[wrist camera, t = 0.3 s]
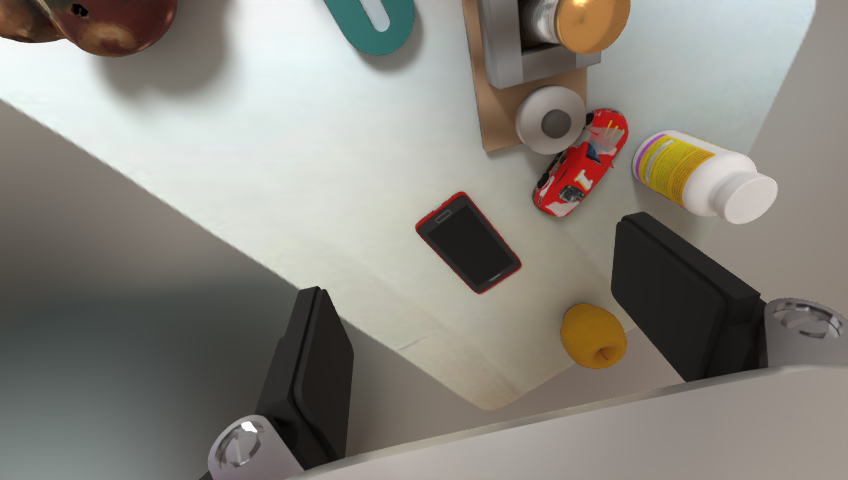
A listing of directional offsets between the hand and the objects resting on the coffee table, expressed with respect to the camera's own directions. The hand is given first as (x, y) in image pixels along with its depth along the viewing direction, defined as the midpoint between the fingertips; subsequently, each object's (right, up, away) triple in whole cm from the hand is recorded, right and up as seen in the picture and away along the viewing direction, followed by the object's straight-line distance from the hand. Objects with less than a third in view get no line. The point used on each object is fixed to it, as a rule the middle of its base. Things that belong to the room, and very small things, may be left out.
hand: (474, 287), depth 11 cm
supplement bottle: (+26, +12, +32) cm, 43 cm away
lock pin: (+8, +22, +21) cm, 32 cm away
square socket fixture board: (+8, +20, +24) cm, 33 cm away
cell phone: (+4, +1, +36) cm, 36 cm away
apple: (+22, -10, +44) cm, 50 cm away
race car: (+16, +11, +31) cm, 37 cm away
